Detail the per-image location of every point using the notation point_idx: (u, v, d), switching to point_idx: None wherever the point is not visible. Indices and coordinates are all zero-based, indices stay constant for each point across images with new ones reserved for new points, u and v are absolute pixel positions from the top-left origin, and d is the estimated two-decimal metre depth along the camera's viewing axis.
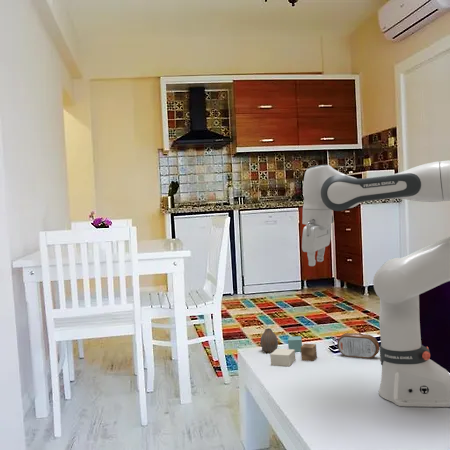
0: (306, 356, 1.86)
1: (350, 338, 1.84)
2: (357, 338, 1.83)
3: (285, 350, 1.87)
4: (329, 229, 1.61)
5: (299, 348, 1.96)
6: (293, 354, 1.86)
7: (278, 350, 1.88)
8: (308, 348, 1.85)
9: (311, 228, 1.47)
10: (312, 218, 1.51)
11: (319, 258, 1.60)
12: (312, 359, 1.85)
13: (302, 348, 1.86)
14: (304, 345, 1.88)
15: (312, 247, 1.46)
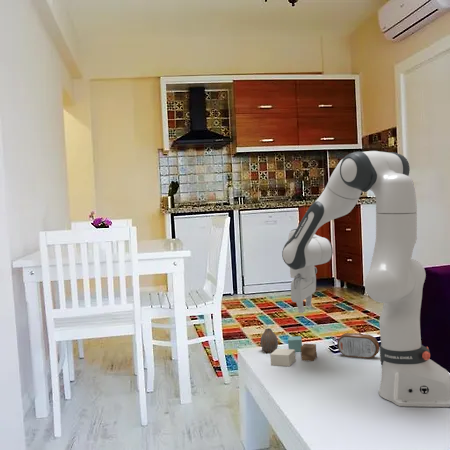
0: (306, 356, 1.86)
1: (350, 338, 1.84)
2: (357, 338, 1.83)
3: (285, 350, 1.87)
4: (314, 278, 1.93)
5: (299, 348, 1.96)
6: (293, 354, 1.86)
7: (278, 350, 1.88)
8: (308, 348, 1.85)
9: (297, 282, 1.78)
10: (298, 273, 1.82)
11: (307, 304, 1.91)
12: (312, 359, 1.85)
13: (302, 348, 1.86)
14: (304, 345, 1.88)
15: (299, 298, 1.77)
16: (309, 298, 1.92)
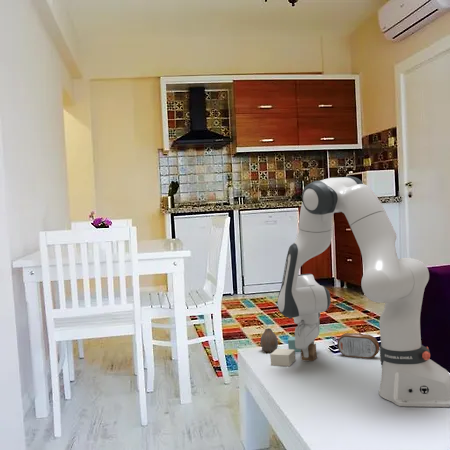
0: None
1: (350, 338, 1.84)
2: (357, 338, 1.83)
3: (285, 350, 1.87)
4: (317, 322, 1.93)
5: None
6: (293, 354, 1.86)
7: (278, 350, 1.88)
8: (308, 347, 1.85)
9: (301, 329, 1.79)
10: (301, 319, 1.83)
11: None
12: (312, 359, 1.85)
13: None
14: None
15: (303, 345, 1.78)
16: (311, 343, 1.91)
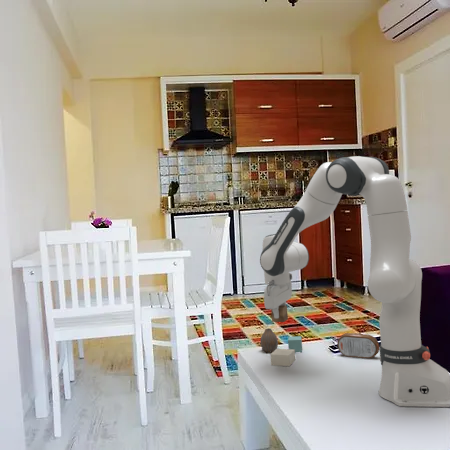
0: None
1: (350, 338, 1.84)
2: (357, 338, 1.83)
3: (285, 350, 1.87)
4: (289, 285, 1.91)
5: (299, 348, 1.96)
6: (293, 354, 1.86)
7: (278, 350, 1.88)
8: None
9: (271, 289, 1.76)
10: (272, 279, 1.81)
11: None
12: (282, 320, 1.82)
13: None
14: None
15: (273, 305, 1.75)
16: (283, 305, 1.88)
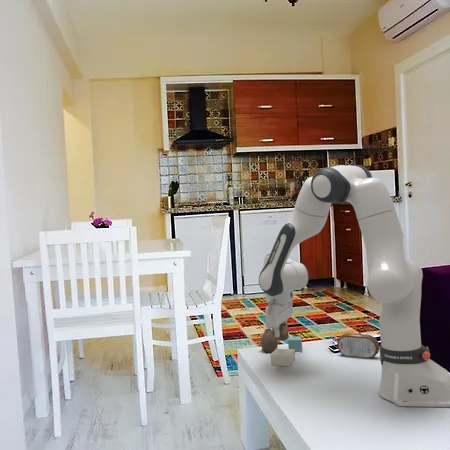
0: None
1: (350, 338, 1.84)
2: (357, 338, 1.83)
3: (285, 350, 1.87)
4: (290, 302, 1.91)
5: (299, 348, 1.96)
6: (293, 354, 1.86)
7: (278, 350, 1.88)
8: None
9: (272, 308, 1.76)
10: (273, 298, 1.81)
11: None
12: (283, 338, 1.82)
13: None
14: None
15: (274, 324, 1.75)
16: None
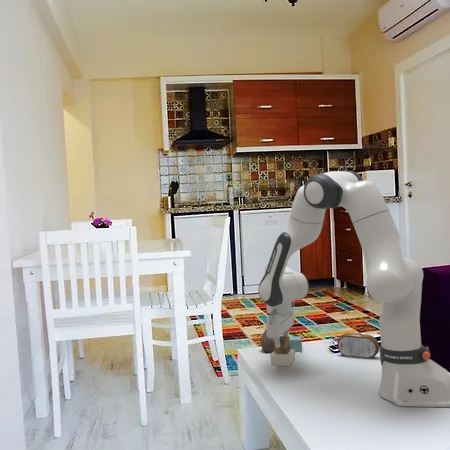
0: (279, 349, 1.83)
1: (350, 338, 1.84)
2: (357, 338, 1.83)
3: None
4: (291, 312, 1.91)
5: (299, 348, 1.96)
6: (293, 354, 1.86)
7: None
8: (281, 340, 1.83)
9: (273, 318, 1.76)
10: (274, 308, 1.81)
11: None
12: (285, 352, 1.83)
13: None
14: None
15: (275, 334, 1.75)
16: (286, 332, 1.89)
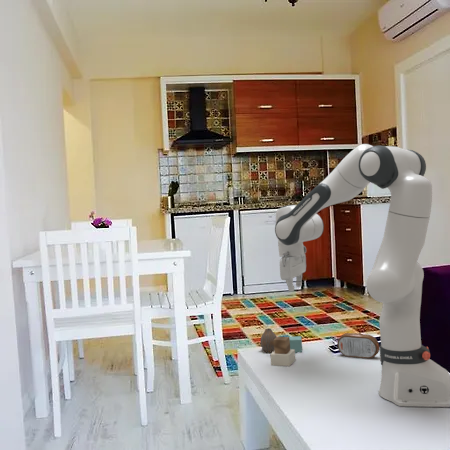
0: (279, 349, 1.83)
1: (350, 338, 1.84)
2: (357, 338, 1.83)
3: None
4: (303, 258, 1.89)
5: (299, 348, 1.96)
6: (293, 354, 1.86)
7: None
8: (281, 340, 1.83)
9: (286, 259, 1.74)
10: (286, 251, 1.79)
11: (298, 284, 1.87)
12: (285, 352, 1.83)
13: (275, 341, 1.84)
14: (277, 338, 1.86)
15: (289, 275, 1.73)
16: (299, 278, 1.88)
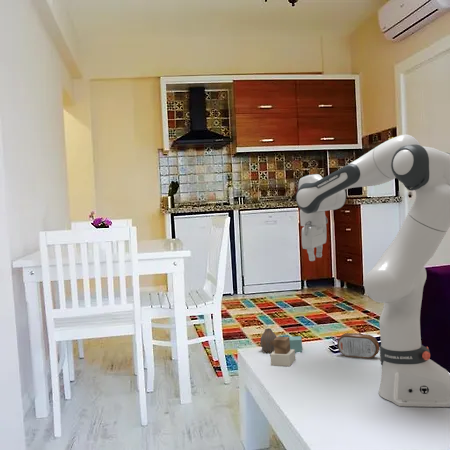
0: (279, 349, 1.83)
1: (350, 338, 1.84)
2: (357, 338, 1.83)
3: None
4: (324, 229, 1.87)
5: (299, 348, 1.96)
6: (293, 354, 1.86)
7: None
8: (281, 340, 1.83)
9: (308, 228, 1.73)
10: (308, 220, 1.77)
11: (318, 254, 1.85)
12: (285, 352, 1.83)
13: (275, 341, 1.84)
14: (277, 338, 1.86)
15: (310, 244, 1.72)
16: (320, 249, 1.86)
